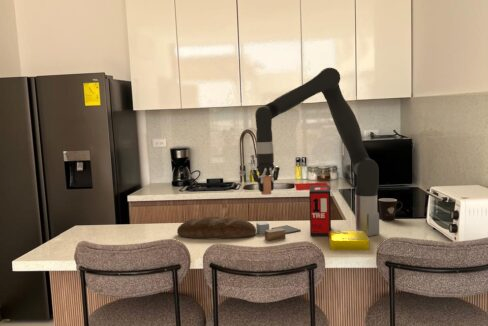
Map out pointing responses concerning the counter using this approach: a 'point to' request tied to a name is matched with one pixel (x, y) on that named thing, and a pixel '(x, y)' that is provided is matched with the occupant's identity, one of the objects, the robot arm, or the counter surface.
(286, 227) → the charcoal mat
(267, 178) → the terracotta cylinder
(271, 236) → the walnut block
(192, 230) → the bread
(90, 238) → the counter surface
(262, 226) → the blue-grey cube
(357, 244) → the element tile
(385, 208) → the coffee mug
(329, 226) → the cleaning product box
